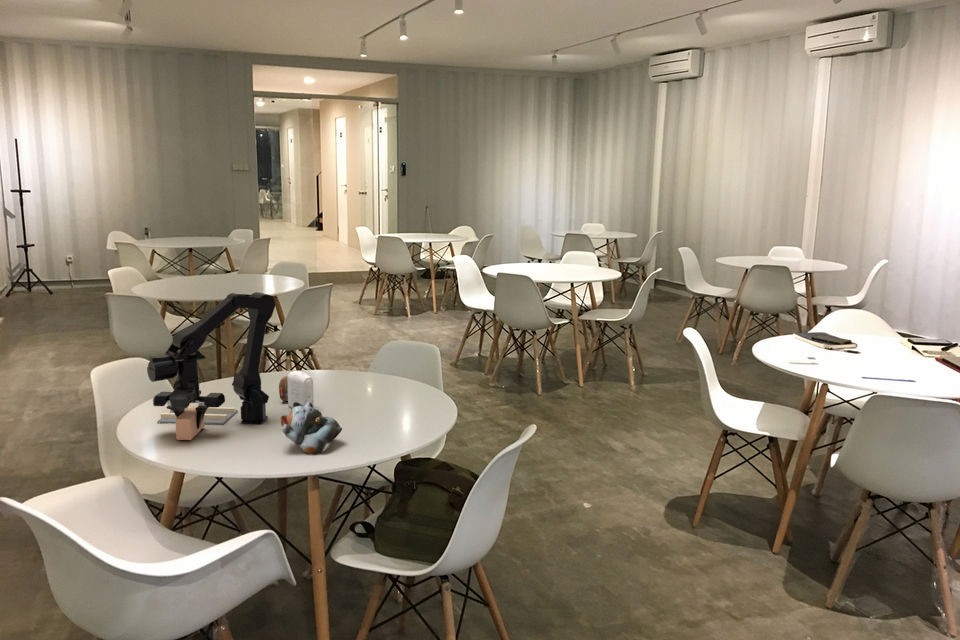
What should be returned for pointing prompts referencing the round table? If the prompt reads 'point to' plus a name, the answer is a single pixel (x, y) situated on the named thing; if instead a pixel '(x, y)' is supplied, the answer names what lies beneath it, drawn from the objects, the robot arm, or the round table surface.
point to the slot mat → (211, 416)
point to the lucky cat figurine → (309, 428)
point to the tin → (283, 388)
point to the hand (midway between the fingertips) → (190, 428)
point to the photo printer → (299, 388)
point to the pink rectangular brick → (188, 424)
